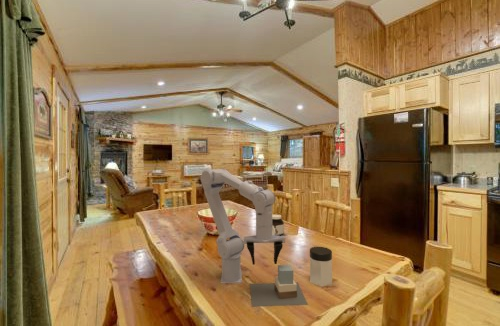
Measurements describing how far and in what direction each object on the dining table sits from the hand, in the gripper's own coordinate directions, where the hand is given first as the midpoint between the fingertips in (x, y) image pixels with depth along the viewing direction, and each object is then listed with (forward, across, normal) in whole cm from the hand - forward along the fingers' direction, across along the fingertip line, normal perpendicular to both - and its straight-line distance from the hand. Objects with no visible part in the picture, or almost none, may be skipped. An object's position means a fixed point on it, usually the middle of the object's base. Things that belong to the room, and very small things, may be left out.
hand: (264, 263), depth 87 cm
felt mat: (+10, +4, -2) cm, 11 cm away
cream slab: (+8, +7, -2) cm, 11 cm away
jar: (+10, +22, +6) cm, 25 cm away
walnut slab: (+10, +7, -2) cm, 12 cm away
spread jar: (+10, +12, +62) cm, 64 cm away
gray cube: (+5, +7, -2) cm, 9 cm away
